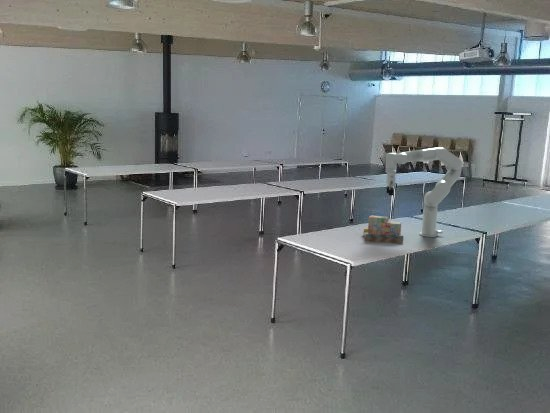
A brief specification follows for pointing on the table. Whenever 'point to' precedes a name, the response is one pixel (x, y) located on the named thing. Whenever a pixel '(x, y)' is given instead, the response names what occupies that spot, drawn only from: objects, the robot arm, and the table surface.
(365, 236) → the dock
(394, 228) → the stack of blocks
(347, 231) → the table surface
